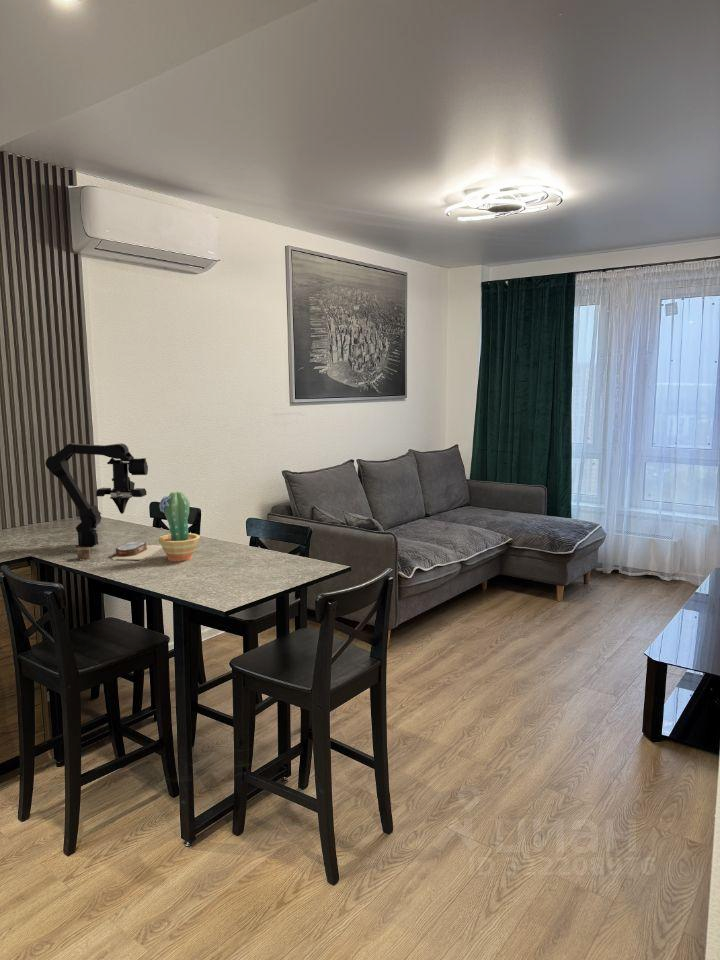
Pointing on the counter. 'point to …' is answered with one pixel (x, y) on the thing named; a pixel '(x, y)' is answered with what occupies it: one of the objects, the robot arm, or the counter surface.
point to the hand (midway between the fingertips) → (122, 513)
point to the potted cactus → (177, 528)
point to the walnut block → (84, 553)
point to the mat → (141, 554)
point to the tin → (131, 549)
